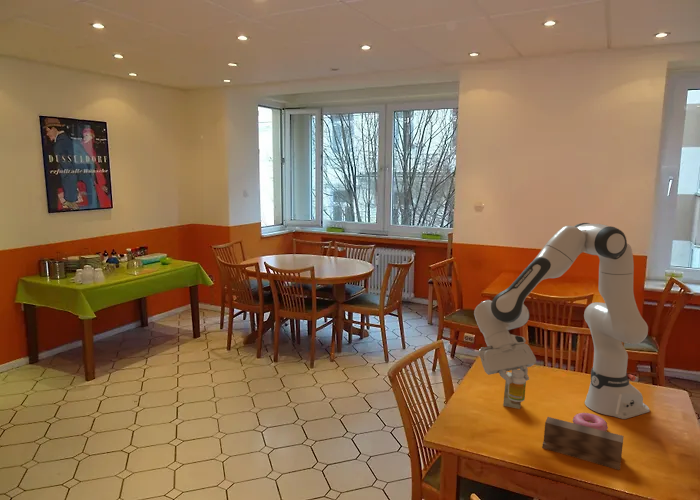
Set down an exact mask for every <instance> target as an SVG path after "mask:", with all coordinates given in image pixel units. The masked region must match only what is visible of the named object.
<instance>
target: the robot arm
mask: <svg viewBox="0 0 700 500" xmlns="http://www.w3.org/2000/svg"><path fill="white" fill-rule="evenodd" d="M583 253H585V254H589V255H592V256H597V257H598V259H599V264H598V292H599V294H600V296H601V297H602V298H603V301H604V302H599V301H598V302H597V301H596V302H591V303H590V304H588V306H586V307H585V309H584V314H583V318H584V320H585V323H586V324H587V326H588V328H589V331H590V335H591V337H592V338H591V339H592V343H593V361H592V362H593V364H592V365H593V366H592V367H591V371H590V383H589V388H588V392H587V394H586V398H585V401H584V404H585V406H586V407H587V408H588V409H590V410H592V411H594V412H596V413H599V414H602V415H606V416H611V417H615V418H619V419H622V420H626V419H629V418H632V417H636V416H639V415H644V414H646V413H650V408H649V406H648V405H647V404H645V403H644V398H643V397H644V396H643V395H642V394H643V393H642V392H640V390H639V389H637V388H636V387H635V386H634V385H632V384H631V383H630V381H631V382H634V381H635V380H636V376H635V375H634V374H631V373H629V374H628V373H627V371H628V369H627V368H628V361H629V360H628V359H629V355H628V351H627V350H626V348H625V347H624V345H623V343H625V344H628V345H629V344H630V345H638V344H640V343H642V342H643V341H644V340H645V339H646V338H647V336H648V332H649V326H648V324H647V322H646V321H645V319H644V318H643V316H642V315H641V312H640V311H639V308H638V305H637V303H636V298H635V294H634V270H635V265H634V263H635V262H634V255H633V249H632V246H631V245H630V244H629V243H628V241H627V236H626V234H625V233H624V232H623V231H622V230H621V229H619V228H617V227H615V226H612V225H611V226H609V225H607V224H601V223H589V222H582V223H577V224H576V225H564V226H562V227H561V228H560V229H559V230H557V231H556V232H555V233H554V235H552V236H551V238H550V239H549V240H548V241H547V242H546V243H545V245H544V246H543V247H542V248H541V250H540V251H539V252H538V254H537V255H536V256H535V258H534V259H533V260H532V261H531V262H530V263H529V264H528V265H527V266H526V267H525V268H524V269H523V271H522V272H521V273H520V274H519V276H517V277H516V278H515V280H514V281H513V282H512V283H511V284H510V285H509V286H508V287H507V288H506V289H504V290H503V291H500V292H499V293H497V294H496V295H495V296H494V298H493V299H492V300H490V299H486V300H484V301H481V302H480V303H478V304H476V307H475V308H474V311H473V315H474V318H475V321H476V324H477V326H478V329H479V331H480V333H482V335H483V338H484V341H485V343H486V344H485V345H486V346H485V347H484V346H482V347H480V348H479V350H478V355H479V358H480V361H481V364H482V367H483V370H484V373H486V374H487V375H495V374H499V376H500V378H502V379H504V380H505V382H507V384H512V383H513V380H512V377H510V378H509V376H508V375H507V372H509V371H511V372H512V370H514V369H518V370H522V371H523V372H524V378H525V379H526V382H527V381H528V380H530V377H529V375H528V370H529V369H528V368H531V367H533V366H534V365H536V363H537V358H536V356H535V354H534V353H533V350H532V349H531V347H530V345H528V344H527V343H526V342H527V340H526V338H525V337H524V336H521V335H516V334H512V333H510V331H511V330H514V329H518V328H521V327H523V326H525V325H526V324H527V323H528V321H529V319H530V311H529V308H528V307H527V306H526V305H525V303H524V302H525V300H526V298H527V297H528V296H529V295H530V294H531V292H532V291H533V290H534V289H535V288H536V287H537V285H539V283H541V282H542V281H543V280H547V279H556V278H560V277H562V276H563V275H564V274H565V273H566V272H567V271H568V270H569V269H571V266H572V265H573V264H574V262H575V261H576V259H577V258H578V257H579V256H580V255H581V254H583Z"/></svg>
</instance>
